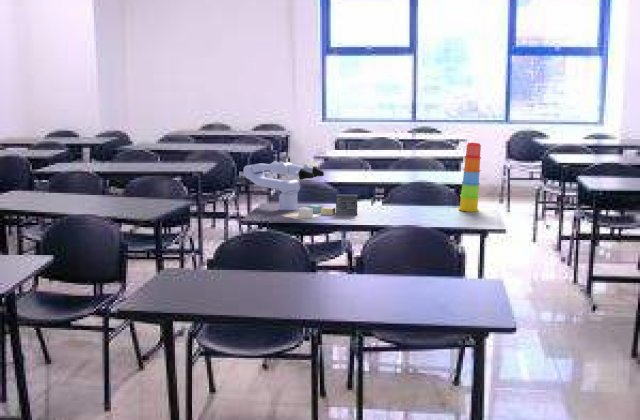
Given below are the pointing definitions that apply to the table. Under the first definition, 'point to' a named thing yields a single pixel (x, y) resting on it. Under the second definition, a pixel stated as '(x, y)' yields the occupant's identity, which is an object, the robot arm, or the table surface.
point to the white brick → (305, 212)
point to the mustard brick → (328, 211)
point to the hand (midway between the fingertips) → (318, 175)
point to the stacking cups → (471, 179)
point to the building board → (296, 216)
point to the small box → (346, 204)
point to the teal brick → (315, 208)
